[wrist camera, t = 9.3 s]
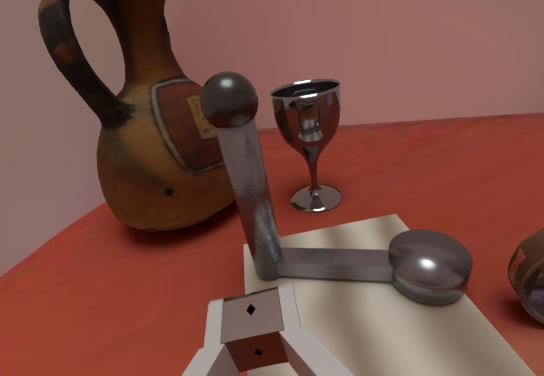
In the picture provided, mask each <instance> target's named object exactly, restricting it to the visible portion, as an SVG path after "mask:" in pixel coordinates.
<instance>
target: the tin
mask: <svg viewBox="0 0 544 376" xmlns="http://www.w3.org/2000/svg"><path fill="white" fill-rule="evenodd" d="M508 277H509V280H510V282H511V284H512V286H513V288H514V290H515V292H516V293H517V295H518V296H519V298H520V301H521V304H522V306H523V307H524V309H525V310H526V312H527V313H528V314H529V315H530V316H531V317H533V318H534V319H535V320H537V321H538V322H540V323H542V324H544V228H543V229H541V230H539V231H537V232H536V233H534V234H532V235H531V236H529V237H528V238H526V239H525V240H524V241H522V242H521V243H520V245H519V246H518V247H517V249H516V251H515V252H514V254H513V256H512V258H511V260H510V263H509V266H508Z"/></svg>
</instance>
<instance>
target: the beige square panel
mask: <svg viewBox="0 0 544 376" xmlns="http://www.w3.org/2000/svg"><path fill="white" fill-rule="evenodd" d="M408 230H409V229H408V228H407V226H406V225H405V224H404V223H403V222H402V221H401V220H400V218H399V217H398V216H397V215H396V214H391V215H387V216H382V217H377V218H372V219H367V220H362V221H357V222H352V223H348V224H343V225H338V226H333V227H328V228H323V229H318V230H313V231H309V232H304V233H299V234H294V235H289V236H284V237H279V239H280V244H281V247H287V248H332V249H377V250H389V244H390V242H391V240H392V239H393V238H394V237H395V236H396V235H398V234H399V233H401V232H404V231H408ZM244 273H245V294H250V293H252V292H256V291H260V290H264V289H269V288H273V287H277V286H278V287H279V286H283V285H288V284H292V286H293V290H294V295H295V299H296V303H297V308H298V312H299V316H300V321H301V326H306V327H307V328H308V329H309V330H310V331H311V332H312V333H313V334H314V335H315V336H316V337H317V338H318V339H319V340H320V341H321V342H322V343H323V344H324V345H325V347H326V348H327V349H328V350H329V351H330V352H331V353H332V354H333V355H334V356H335V357H336V358H337V359H338V360H339V361H340V362H341V363H342V364H343V365H344V366H345V367H346V368H347V369H348V370H349V371H350V372H351V373H352V374H353V375H354V376H536V375H535V374H534V373H533V372H532V370H531V369H530V368H529V367H528V366H527V365H526V364H525V362H524V361H523V360H522V359H521V358H520V357H519V356H518V354H517V353H516V352H515V351H514V350H513V349H512V347H511V346H510V345H509V344H508V343H507V342H506V341H505V339H504V338H503V337H502V336H501V335H500V334H499V332H498V331H497V330H496V329H495V328H494V327H493V326H492V324H491V323H490V322H489V321H488V320H487V319H486V317H485V316H484V315H483V314H482V313H481V312H480V311H479V309H478V308H477V307H476V306H475V305H474V304H473V303H472V301H471V300H470V299H469V298H468V297H467V296H466V294H465V293H464V294H463V295H462V297H460V298H459V299H458V300H456V301H454V302H451V303H447V304H429V303H424V302H420V301H417V300H415V299H412V298H411V297H409V296H407V295H405V294H404V293H402V292H401V291H400V290H399V289H398V288H396V287H395V285H394V284H393V283H392V281H372V280H352V279H333V278H313V277H293V276H278V277H276V278H273V279H262V278H260V277H259V276H258V275H257V274H256V271H255V268H254V264H253V261H252V257H251V254H250V250H249V247H248V244H245V245H244ZM247 376H298V375H297V373H296V372H295V371H294V369H293V368H292V367H291V365H290V364H289V362H287V363H281V364H276V365H270V366H265V367H261V368H257V369H253V370H249V371H247Z"/></svg>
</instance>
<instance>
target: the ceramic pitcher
mask: <svg viewBox="0 0 544 376" xmlns="http://www.w3.org/2000/svg"><path fill="white" fill-rule="evenodd" d="M94 1H95V2H96V3H97V4H98V5H99V6H101V8H102V9H103V10H104V12H105V13H106V15H107V16H108V18H109V19H110V21H111V23H112V25H113V27H114V29H115V31H116V34H117V36H118V39H119V42H120V45H121V48H122V52H123V57H124V62H125V83H124V87H123V89H122V90H121V91H120V92H119V94H118V95H117V96H115V95H114V94H113V93H112V92H111V91H110V90H109V89H108V87H107V86H106V85H105V84H104V83H103V82H102V81H101V80H100V79H99V77H98V76H97V75H96V74H95V72H94V71H93V69H92V68H91V66H90V65H89V63H88V62H87V60H86V58H85V56H84V54H83V52H82V50H81V47H80V45H79V43H78V41H77V38H76V36H75V33H74V30H73V27H72V23H71V17H70V9H69V0H42V1H41V3H40V6H39V8H38V19H39V26H40V31H41V35H42V37H43V40H44V43H45V45H46V47H47V49H48V52H49V54H50V55H51V57H52V59H53V61H54V62H55V64H56V66H57V67H58V69H59V71H60V72H61V73H62V74H63V75H64V77H65V78H66V79H67V80H68V81H69V83H70V84H71V85H72V87H73V88H74V89H75V90H76V91H77V92H78V93H79V95H80V96H81V97H82V98H83V100H84V101H85V102H86V103H87V104H88V106H89V107H90V108H91V109H92V110H93V111H94V112H95V114H96V115H97V116H98V117H99V119H100V121H101V125H102V128H101V132H100V136H99V141H98V147H97V170H98V177H99V180H100V184H101V188H102V192H103V195H104V197H105V199H106V201H107V204H108V206H109V207H110V209H111V210H112V212H113V213H114V215H115V216H116V218H117V219H118V220H119V221H120V222H121V223H123V224H125V225H127V226H131V227H135V228H138V229H141V230H145V231H148V232H153V231H165V230H174V229H179V228H184V227H188V226H191V225H194V224H197V223H199V222H202V221H204V220H206V219H207V218H209V217H210V216H212V215H213V214H215V213H216V212H218V211H219V210H221V209H223V208H224V207H226V206H227V205H229V204H230V203H232V202H233V201H234V200H235V198H234V194H233V191H232V187H231V184H230V180H229V177H228V173H227V170H226V166H225V163H224V159H223V156H222V152H221V149H220V145H219V142H218V139H217V135H216V132H215V128H214V126H213V125H212V124H210V123H209V121H208V120H207V119H206V118H205V116H204V114H203V112H202V109H201V104H200V96H201V91H202V88H203V87H201V86H200V85H199V84H197V83H195V82H193V81H192V80H190V79H188V78H187V77H186V76H185V75H184V73H183V72H182V70H181V68H180V66H179V64H178V63H177V61H176V59H175V57H174V55H173V52H172V50H171V43H170V35H169V32H168V29H167V24H166V21H165V17H164V4H165V0H94Z"/></svg>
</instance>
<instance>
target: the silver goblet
mask: <svg viewBox="0 0 544 376" xmlns="http://www.w3.org/2000/svg"><path fill="white" fill-rule="evenodd" d="M270 97H271V104H272V109H273V113H274V117H275V120H276V124H277V126H278V129H279V131H280V134H281V136H282V137H283V139H284V141H285V142H286V143H287V144H288V145H290V146H291V147H292V148H293V149H295V150H296V151H297V152H299V153H300V154H301V155H302V156H303V157H304V159H305V160H306V162H307V164H308V168H309V172H310V176H311V183H312V185H307V186H304V187H302V188H300V189H298V190H297V191H295V192H294V193H293V195H292V197H291V203H292V205H293V206H294V207H295V208H296V209H298V210H301V211H304V212H311V213H316V212H323V211H327V210H330V209H332V208H334V207H335V206H337V205H338V204H339V203H340V201H341V199H342V195H341V192H340V191H339V190H338V189H337V188H335V187H333V186H331V185H326V184H317V161H318V158H319V156H320V154H321V152H322V151H323V150H324V148H325V147H326V146H327V145H328V143H329V142H330V141H331V140H332V138H333V137H334V135H335V133H336V131H337V128H338V124H339V118H340V110H341V89H340V82H339V81H337V80H333V79H316V80H307V81H302V82H296V83H292V84H288V85H284V86H281V87H279V88H276V89H274V90H273V91H271V93H270Z"/></svg>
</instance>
